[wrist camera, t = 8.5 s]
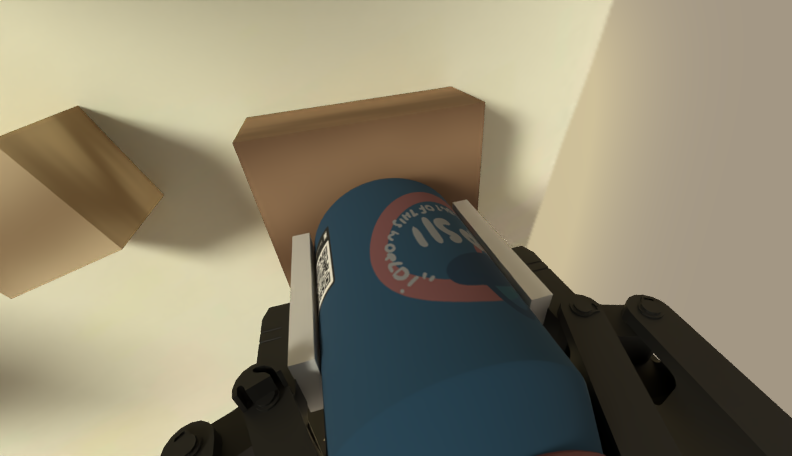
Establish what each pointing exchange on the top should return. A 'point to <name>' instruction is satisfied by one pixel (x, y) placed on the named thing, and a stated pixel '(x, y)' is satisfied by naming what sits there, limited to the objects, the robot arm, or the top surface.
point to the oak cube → (65, 200)
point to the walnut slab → (358, 155)
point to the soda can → (434, 339)
